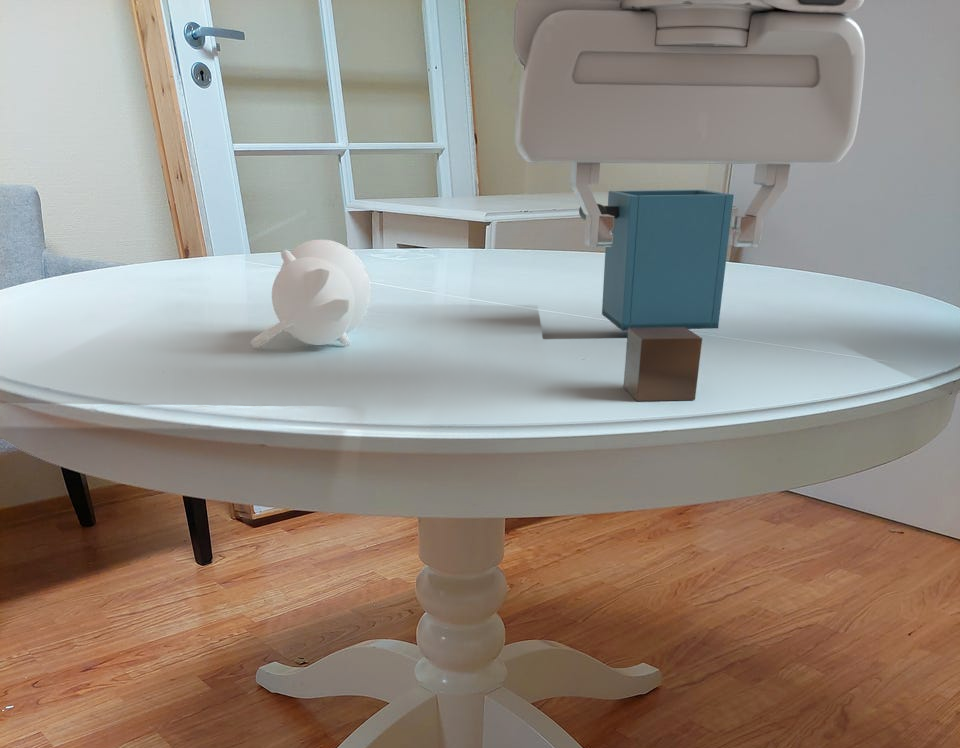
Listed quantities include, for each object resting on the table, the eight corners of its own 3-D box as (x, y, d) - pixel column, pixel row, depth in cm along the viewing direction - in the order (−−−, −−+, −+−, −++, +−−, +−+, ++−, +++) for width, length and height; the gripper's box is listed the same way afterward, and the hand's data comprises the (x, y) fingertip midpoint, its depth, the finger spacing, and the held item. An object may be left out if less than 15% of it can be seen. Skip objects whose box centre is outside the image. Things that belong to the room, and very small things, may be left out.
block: (678, 385, 63) (685, 326, 61) (695, 400, 59) (702, 338, 57) (623, 387, 62) (627, 327, 60) (636, 401, 59) (642, 338, 57)
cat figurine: (313, 226, 66) (337, 210, 77) (206, 306, 69) (243, 280, 80) (381, 329, 70) (395, 300, 80) (277, 400, 73) (303, 363, 83)
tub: (690, 312, 89) (702, 189, 84) (718, 328, 81) (734, 194, 76) (570, 315, 88) (575, 191, 83) (588, 331, 80) (594, 196, 75)
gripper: (521, -38, 46) (514, 251, 53) (899, -29, 48) (845, 251, 54) (508, -19, 51) (503, 241, 58) (847, -11, 53) (804, 241, 60)
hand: (671, 246), depth 56 cm, fingers open, 8 cm apart
